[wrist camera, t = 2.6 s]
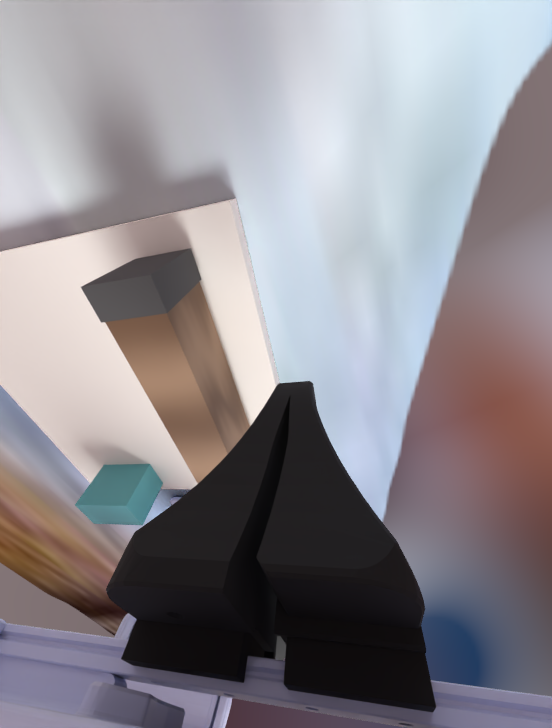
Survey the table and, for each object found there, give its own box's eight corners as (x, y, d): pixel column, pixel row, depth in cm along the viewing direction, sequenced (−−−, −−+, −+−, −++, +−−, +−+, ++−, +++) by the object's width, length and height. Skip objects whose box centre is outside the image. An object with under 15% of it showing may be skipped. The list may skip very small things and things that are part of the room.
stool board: (302, 477, 27) (299, 536, 23) (102, 478, 31) (68, 527, 27) (236, 198, 14) (200, 212, 10) (-79, 268, 19) (-193, 299, 15)
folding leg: (263, 459, 23) (251, 518, 19) (226, 460, 24) (208, 517, 20) (191, 248, 14) (143, 279, 11) (135, 258, 15) (71, 291, 11)
